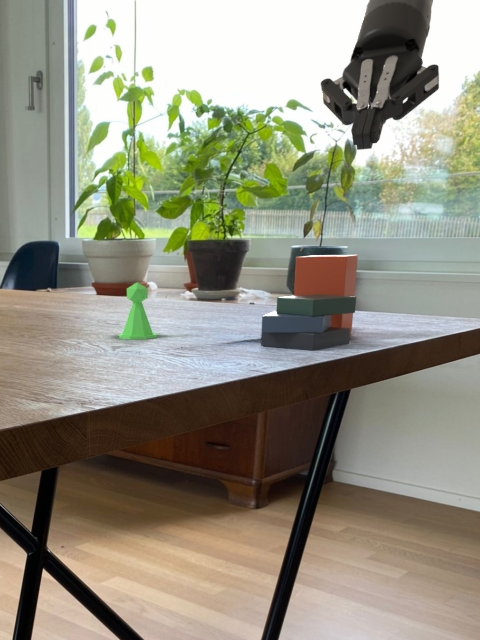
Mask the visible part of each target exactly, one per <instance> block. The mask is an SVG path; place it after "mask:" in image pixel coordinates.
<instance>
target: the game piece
mask: <svg viewBox="0 0 480 640" xmlns="http://www.w3.org/2000/svg"><path fill="white" fill-rule="evenodd" d="M126 299H128V300H129V301H131V302H132V304H131V307H130V310H129V312H128V316H127V318H126V322H125V325H124V328H123V331H122V333H118V339H120V340H151V339H156V338H157V339H158V333H157V332H153V329H152V327H151V324H150V321H149V318H148V316H147V312H146V310H145V307H144V305H143V301H145V300H147V299H148V287H146V286H145V285H143V284H141V283H139V282H138V281H136V282H135V283H133V284H131V285H130V286H129V287H126Z"/></svg>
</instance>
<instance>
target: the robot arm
mask: <svg viewBox="0 0 480 640" xmlns="http://www.w3.org/2000/svg"><path fill="white" fill-rule="evenodd" d="M433 3H434V0H368V2H367V5H366V7H365V9H364V10H363V11H364V12H363V14H362V17H361V21H360V24H359V27H358V31H357V35H356V38H355V42H354V44H353V48H352V51H351V56H350V60H349V63H348V65H347V66H345V68H344V69H343V70H342V73H341V77H338V78H337V79H335V80H334V81H333V80H332V79H331V78H329V77H327V78H324V79H322V80H321V82H320V89H321V97H322V103H323V105H324V106H325V107H326V108H327V109H328V110H329V111H330V112H331V113H332V114H333V115H334V116H335V117H336V118H337V119H338V120H339V121H340V122H341V123H342V124H343V126H351V125H352V126H351V129H350V135H351V136H350V137H351V142H352V146H356V150H357V151H361V150H370V149H371V150H372V148H373V144H377V143H378V142H379V141H380V139H381V136H382V135H381V134H382V132H383V128H384V125H385V124H386V122H387V121H388V120H390V119H392V120H394V121H400V120H402V119H403V118H405V117H406V116H407V115H408V114H410V113H412V111H413V110H414V109H416V108H417V107H419V105H421V104H422V103H423V102H424V101H426V100H427V99H428V98H430V97H431V96H432V95H433V94H435V93H436V92H437V91H438V90H439V89H440V72H439V71H440V70H439V69H440V67H439V65H438V64H430V65H428V66H426V67H425V66H423V64H424V62H423V59H422V58H423V55H424V54H423V53H424V50H425V46H426V41H427V38H428V36H429V34H430V33H429V32H430V28H431V21H432V20H431V19H432V7H433ZM345 90H346V91H347V92H348V93H349V94H350V95H351V96H352V97H353V99H354V100H355V101H356V103H355V102H353V100H352V98H351V97H350V96H349V95H347V94H346V92H345Z"/></svg>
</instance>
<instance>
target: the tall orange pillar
mask: <svg viewBox="0 0 480 640" xmlns="http://www.w3.org/2000/svg"><path fill="white" fill-rule="evenodd" d="M358 258H359V255H358V254H323V255H322V254H319V255H316V254H313V255H303V256H302V255H301V256H295V271H294V288H293V296H300V295H314V294H324V295H340V296H356V295H355V294H356V284H357V283H356V281H357V271H358V269H357V268H358ZM353 319H354V313H348V314H336V315H331V326H330V327H339V328H350V336H351V335H352V331H353Z"/></svg>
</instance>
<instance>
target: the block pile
mask: <svg viewBox="0 0 480 640" xmlns="http://www.w3.org/2000/svg"><path fill="white" fill-rule="evenodd" d="M356 307H357V296H356V295H355V296H340V295H324V294H314V295H300V296H294V295H289V296H277V297H276V310H273V311H272V312H271V311H270V312H269V313H267V314H265V315H262V316H261V333H260V334H261V337H260V346H261V347H268V348H269V347H270V348H282V349H292V350H303V351H318V350H323V349H328V348H333V347H334V348H335V347H340V346H345V345H349V344H350V338H351V337H350V336H351V335H350V328H339V327H330V326H331V315H336V314H348V313H353V314H355V313H356Z"/></svg>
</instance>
